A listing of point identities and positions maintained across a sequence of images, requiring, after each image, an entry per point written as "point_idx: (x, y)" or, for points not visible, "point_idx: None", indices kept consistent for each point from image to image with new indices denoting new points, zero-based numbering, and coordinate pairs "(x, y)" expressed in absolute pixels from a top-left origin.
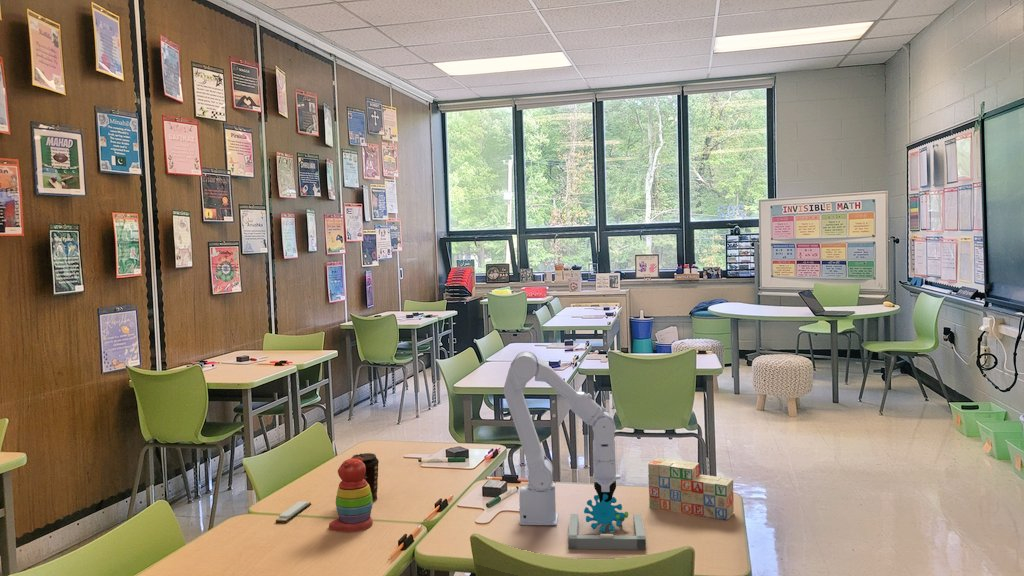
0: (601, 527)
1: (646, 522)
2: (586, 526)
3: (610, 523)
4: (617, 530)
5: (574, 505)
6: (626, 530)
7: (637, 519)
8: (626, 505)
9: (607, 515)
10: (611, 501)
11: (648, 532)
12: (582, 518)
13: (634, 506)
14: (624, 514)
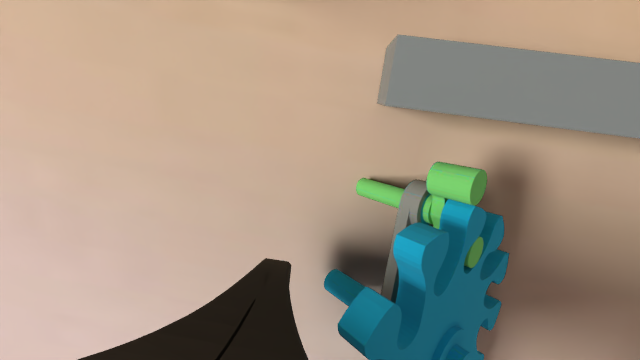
0: (490, 325)
1: (357, 3)
2: None
3: (488, 284)
4: None
5: None
6: (473, 167)
7: (509, 91)
8: (48, 91)
9: (460, 323)
10: (394, 345)
11: (547, 24)
12: None
13: (58, 38)
14: (477, 202)
